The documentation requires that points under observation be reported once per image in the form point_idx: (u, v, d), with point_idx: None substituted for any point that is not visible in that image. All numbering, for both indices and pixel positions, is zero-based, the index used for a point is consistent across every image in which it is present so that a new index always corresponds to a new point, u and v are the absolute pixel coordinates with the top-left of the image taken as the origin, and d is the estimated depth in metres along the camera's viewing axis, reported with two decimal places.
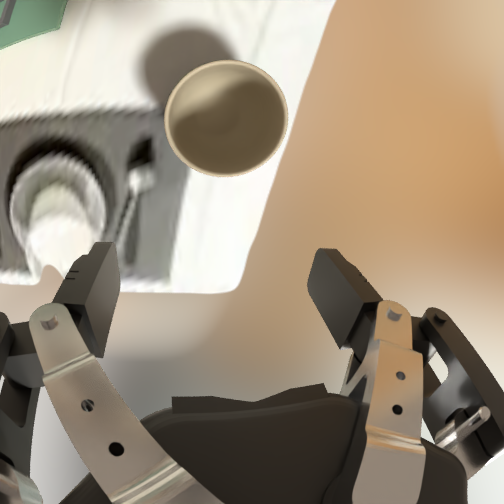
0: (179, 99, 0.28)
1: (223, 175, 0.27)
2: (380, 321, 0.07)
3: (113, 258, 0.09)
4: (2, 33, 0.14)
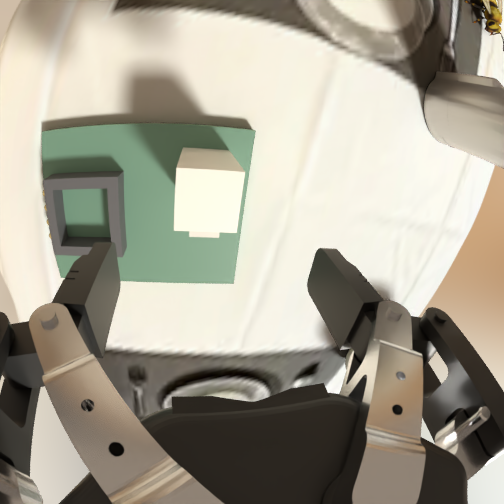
0: None
1: None
2: (380, 321, 0.07)
3: (113, 258, 0.09)
4: (118, 258, 0.25)
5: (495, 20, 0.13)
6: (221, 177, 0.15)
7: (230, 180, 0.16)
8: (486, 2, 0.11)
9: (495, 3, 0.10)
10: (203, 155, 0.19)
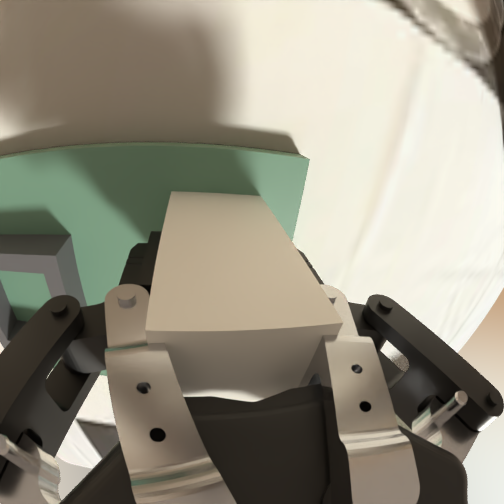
0: None
1: None
2: None
3: None
4: None
5: None
6: (280, 342, 0.05)
7: (303, 344, 0.06)
8: None
9: None
10: (215, 226, 0.09)
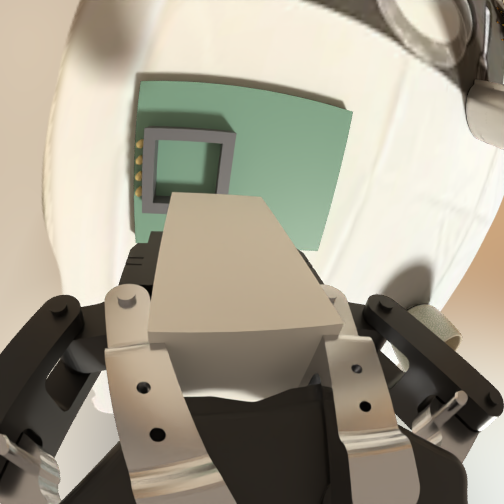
0: None
1: None
2: None
3: None
4: None
5: None
6: (281, 343, 0.05)
7: (304, 345, 0.06)
8: None
9: None
10: (215, 227, 0.09)
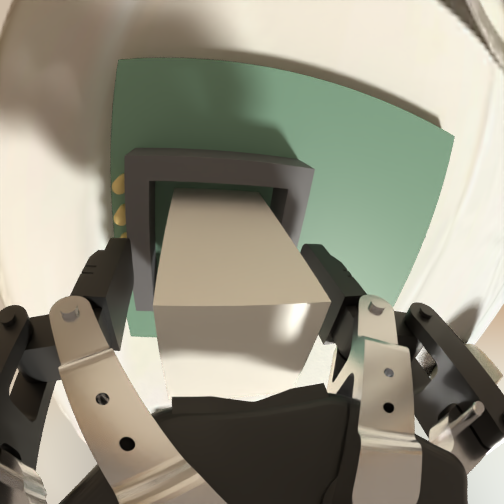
0: None
1: None
2: (363, 317, 0.07)
3: (128, 253, 0.09)
4: None
5: None
6: (274, 318, 0.06)
7: (294, 321, 0.06)
8: None
9: None
10: (215, 218, 0.09)
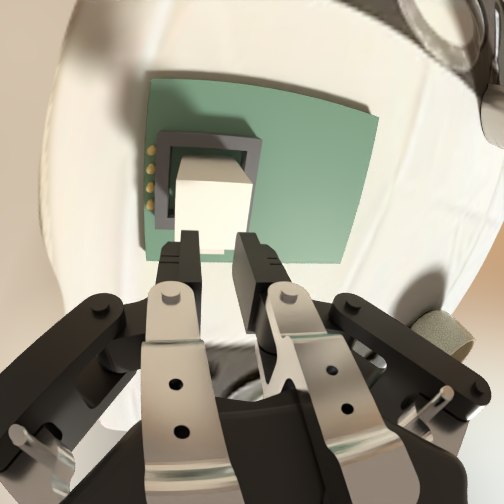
0: None
1: None
2: (278, 311, 0.07)
3: None
4: None
5: None
6: (226, 190, 0.14)
7: (236, 193, 0.14)
8: None
9: None
10: (205, 163, 0.17)
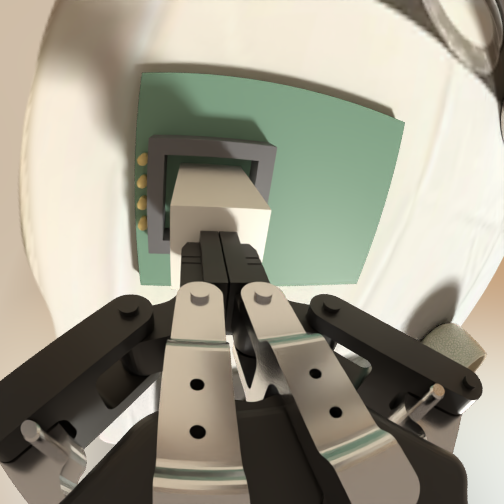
0: None
1: None
2: (253, 313, 0.07)
3: None
4: None
5: None
6: (237, 218, 0.11)
7: (250, 222, 0.11)
8: None
9: None
10: (208, 177, 0.14)
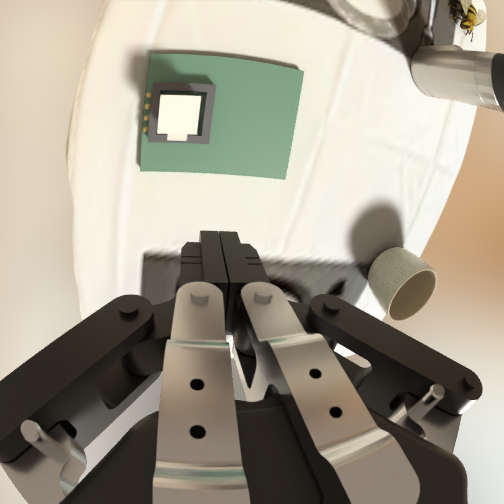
0: (377, 267, 0.47)
1: (402, 320, 0.46)
2: (253, 313, 0.07)
3: None
4: (198, 151, 0.33)
5: (469, 20, 0.22)
6: (186, 99, 0.23)
7: (192, 101, 0.23)
8: (465, 8, 0.20)
9: (474, 12, 0.20)
10: None
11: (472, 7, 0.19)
